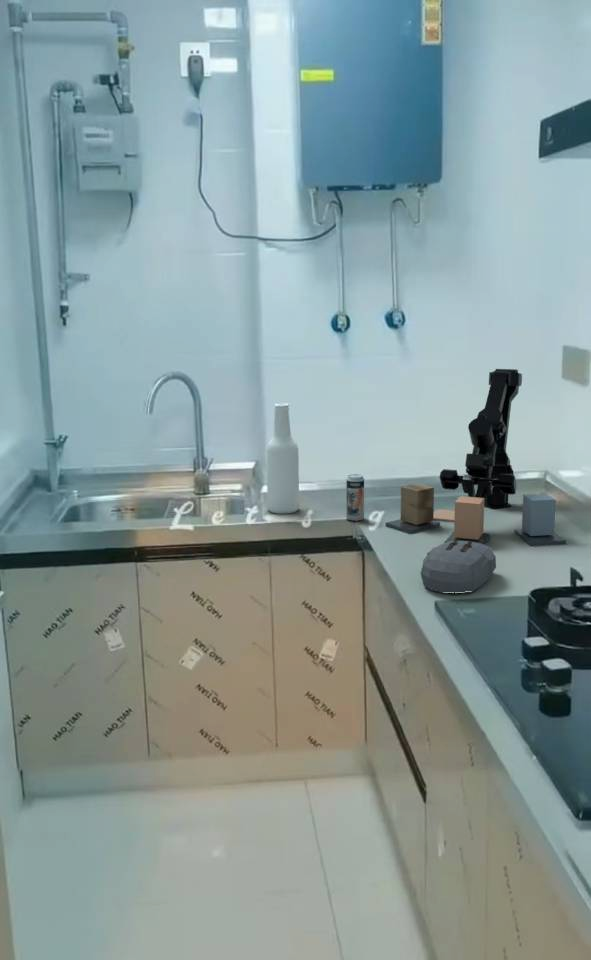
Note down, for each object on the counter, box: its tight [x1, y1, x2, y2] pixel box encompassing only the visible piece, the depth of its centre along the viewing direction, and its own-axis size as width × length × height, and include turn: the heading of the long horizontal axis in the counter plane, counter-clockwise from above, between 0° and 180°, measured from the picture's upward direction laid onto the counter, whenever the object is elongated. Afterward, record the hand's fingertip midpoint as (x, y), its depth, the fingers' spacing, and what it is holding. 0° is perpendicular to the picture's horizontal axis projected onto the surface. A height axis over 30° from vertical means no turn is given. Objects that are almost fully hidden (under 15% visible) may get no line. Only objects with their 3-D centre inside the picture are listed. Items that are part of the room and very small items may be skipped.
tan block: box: [453, 495, 485, 540], centre depth 232 cm, size 6×6×9 cm
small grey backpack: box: [420, 540, 497, 593], centre depth 203 cm, size 15×8×20 cm
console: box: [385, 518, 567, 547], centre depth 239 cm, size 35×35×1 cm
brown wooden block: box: [400, 482, 435, 525], centre depth 245 cm, size 6×6×9 cm
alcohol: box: [265, 402, 300, 515], centre depth 259 cm, size 9×9×30 cm
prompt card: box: [433, 509, 455, 523], centre depth 253 cm, size 9×9×1 cm
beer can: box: [345, 473, 365, 522], centre depth 251 cm, size 5×5×12 cm
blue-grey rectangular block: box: [521, 493, 557, 536], centre depth 233 cm, size 6×6×9 cm
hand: (472, 510), depth 234 cm, fingers closed
